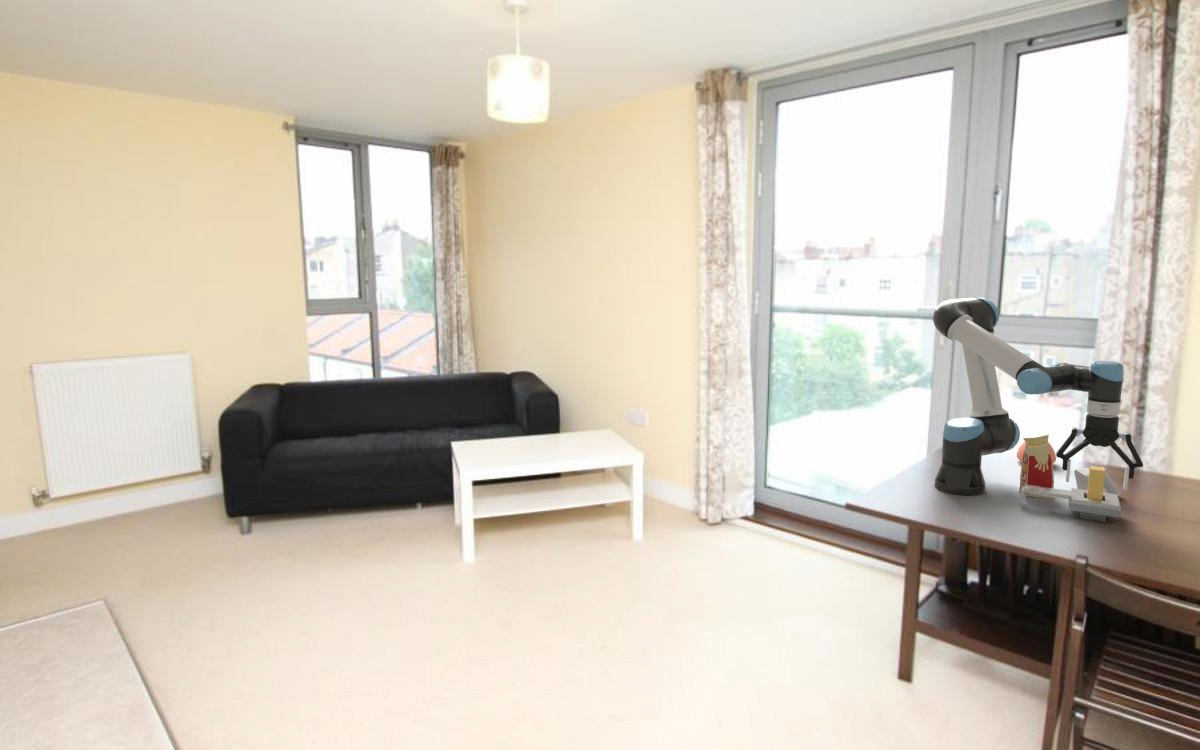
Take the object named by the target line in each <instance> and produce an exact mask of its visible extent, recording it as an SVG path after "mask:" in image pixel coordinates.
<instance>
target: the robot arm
mask: <svg viewBox="0 0 1200 750" xmlns="http://www.w3.org/2000/svg"><path fill="white" fill-rule="evenodd" d="M999 319H1000V312H999V309H998V307H997V306H996V304H995V303H994V301H991V300H990V299H988V298H985V297H975V296H974V297H968V298H967V297H966V298H965V297H964V298H953V299H951V298H950V299H947V300H945V301H942V302H941V303H940V304H938V306H937V307H936V308H935V309H934V312H933V316H932V321H933V325H934V327H935V328H936V330H937V331H938V332H940V334H941V335H942V336H944V337H946V338H947V339H948V340H950V341H953V342H955V341H957V342H958V343H960V344H962V351H963V356H964V361H965V362H964V363H965V368H966V375H967V380H968V381H967V382H968V386H969V392H970V397H971V402H972V409H973V410H972V412H971V413H970V415H969V417H957V418H950V419H949V420H947V421H946V422H945V423H944V425H943V431H942V451H941V452H942V454H941V464H940V467H939V469H938V471H937V474H936V476H935V478H934V486H935V488H937V487H938V488H939V489H938V488H937V489H938V490H940V489H942V490H941V491H943V490H944V491H943V492H945V491H947V492H946V493H949V492H951V493H950V494H954V493H955V494H954V495H960V494H962V495H963V496H978V495H982V494H985V492H986V491H987V489H986V485H987V484H986V480H985V477H984V474H983V471H982V456H988V455H993V454H1002V453H1005V452H1007V451H1011V450H1012V449H1014V448H1015V447H1016V445H1017V444H1019V441H1020V437H1021V432H1020V431H1021V430H1020V427H1019V425H1018V423H1017V422H1015V420H1014V419H1012V418H1010V415H1009V412H1008V411H1007V410H1006V409H1004V408H1003V405H1002V399H1001V398H1002V397H1001V394H1000V393H1001V392H1000V388H999V383H998V381H999V380H998V375H997V372H996V367H997V368H998V369H999V370H1001V371H1002V372H1003V373H1005V374H1007V375H1008V376H1010V377H1011V378H1012V379H1014V380H1016V385H1017V387H1018V388H1019V390H1020V391H1021V392H1023V393H1024V394H1026V395H1042V394H1043V395H1044V394H1048V393H1053V392H1055V393H1056V392H1061V391H1062V392H1063V391H1068V390H1069V391H1070V390H1072V391H1079V392H1085V393H1088V394H1087V405H1086V412H1087V414H1086V417H1085V424H1084V425H1085V427H1084V428H1083V429H1080V428H1077V427H1072V429H1071V433H1070V434H1069V436H1068V437H1067V438H1066V440H1065V441H1064V442H1063V444H1062V445H1061V446H1060V448H1059V449H1058V450H1057V452H1055V455H1056V458H1060V459H1061V460H1062V467H1061V468H1062V471H1066V474H1065V476H1066V477H1065V482H1066V483H1070V474H1071V463H1072V459H1071V458H1072V457H1074V456H1075V455H1076V454H1078V453H1079V452H1080V451H1081V450H1083V449H1085V448H1086V447H1088V446H1089V445H1091V446H1093V447H1103V448H1107V447H1111V448H1112V449H1113V450H1114V451H1115V453H1116V454H1117V455H1118V456H1119V458H1121V460H1122V461H1124V463H1125V464H1126V465H1124V477H1123V487H1122V489H1123V491H1128V487H1129V479H1130V480H1133V478H1134V476H1135V469H1136V468H1142V467H1144V462H1143V460H1142V459H1141V456H1140V455H1139V453H1138V451H1137V449H1136V448H1135V447H1136V446H1135V445H1134V444H1133V442H1132V434H1131V433H1130V432H1126V433H1119V431H1118V429H1119V423H1120V422H1119V420H1120V417H1119V415H1120V411H1121V400H1122V399H1121V398H1122V397H1121V396H1122V389H1123V381H1124V365H1123V364H1122V363H1120V362H1118V361H1110V360H1109V361H1108V360H1096V361H1092V363H1091V365H1090V366H1085V365H1080V364H1079V365H1077V364H1072V363H1067V362H1062V363H1061V362H1053V363H1051V364H1050V365H1049V366H1044V365H1042V364H1041V363H1039V362H1037V361H1035V360H1034V359H1032V358H1031V357H1029V356H1028V355H1026V354H1025V353H1023V352H1021V351H1020V350H1018V349H1017V348H1015V347H1013V346H1012V345H1010V344H1008V343H1007V342H1005V341H1004V340H1002V339H1001V338H999V336H998V337H997V336H996V335H995V329H994V328H995V327H996V326H997V324H998V322H999ZM1080 435H1083V437H1084V438H1083V440H1082V441H1081V442H1079V443H1078V444H1077V445H1075V446H1073V448H1071V449H1070V450H1068V448H1069V447H1070V446H1071V444H1072V443H1073V442H1074V441H1075V439H1076V437H1079V436H1080ZM1120 438H1121V440H1122V441H1123V442H1125V443H1126V445H1127V448H1128V449H1129V451H1130V453H1131V455H1132V457H1133V459H1134V462H1133V460H1132V459H1131V458H1130V457H1129V456H1128V455H1127V454H1126V453H1125V452H1124V451H1123V449H1122V448H1121V447H1120V446H1119V445H1118V444H1117V442H1116V441H1117V440H1118V439H1120ZM1067 450H1068V451H1067ZM1066 451H1067V452H1066ZM1065 452H1066V453H1065ZM962 495H961V496H962Z"/></svg>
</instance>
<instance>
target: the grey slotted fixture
mask: <svg viewBox="0 0 1200 750" xmlns="http://www.w3.org/2000/svg"><path fill="white" fill-rule="evenodd" d="M1087 491H1088V490H1082V489H1078V488H1074V487H1073V488H1072V487H1071V490H1067V489H1060V488H1055V487H1054V488H1047V487H1040V486H1033V485H1026V484H1025V486H1022V490H1021V493H1020V500H1021V501H1026V498H1027V496H1026V493H1029V494H1035V495H1042V496H1049V497H1052V498H1058V499H1064V500H1068V510H1070V511H1075V512H1076V511H1077V512H1079V518H1080V519H1085V520H1091V521H1096V522H1097V521H1099V522H1102V523H1104V522H1105V523H1106V521H1107V517H1113V518H1121V515H1122V514H1121V513H1122V508H1121V503H1120V502H1121V501H1120V498H1119V496H1118V497H1117V494H1110V493H1108V492H1103V497H1102V500H1096V499H1089V498H1087Z"/></svg>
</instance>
